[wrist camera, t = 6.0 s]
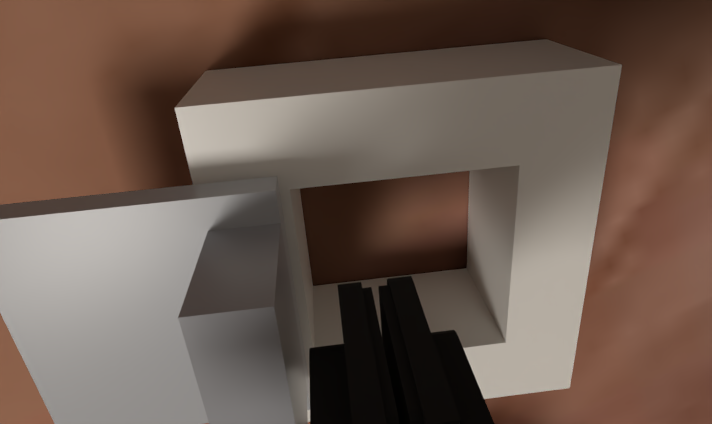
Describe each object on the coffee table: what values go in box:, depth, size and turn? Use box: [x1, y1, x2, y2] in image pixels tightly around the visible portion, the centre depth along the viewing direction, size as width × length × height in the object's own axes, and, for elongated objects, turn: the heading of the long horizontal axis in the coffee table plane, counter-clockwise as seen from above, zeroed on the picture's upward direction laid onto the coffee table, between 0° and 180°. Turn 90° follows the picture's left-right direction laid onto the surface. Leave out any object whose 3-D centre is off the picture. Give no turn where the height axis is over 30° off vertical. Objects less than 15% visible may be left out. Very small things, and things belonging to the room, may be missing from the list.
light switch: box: [175, 39, 622, 422], centre depth 15 cm, size 10×10×4 cm
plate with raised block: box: [0, 176, 310, 424], centre depth 11 cm, size 7×7×4 cm
